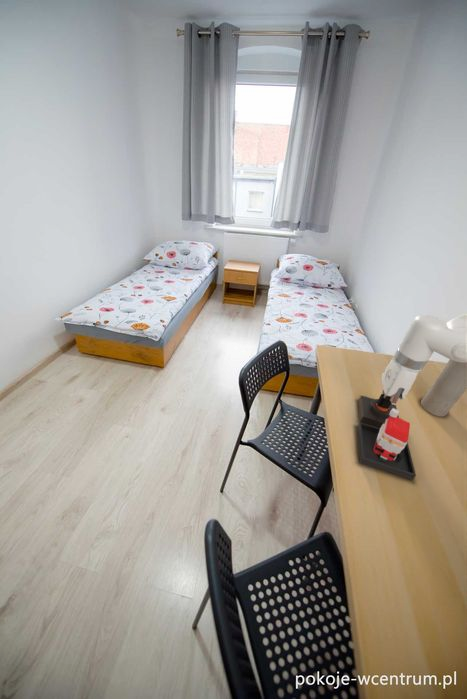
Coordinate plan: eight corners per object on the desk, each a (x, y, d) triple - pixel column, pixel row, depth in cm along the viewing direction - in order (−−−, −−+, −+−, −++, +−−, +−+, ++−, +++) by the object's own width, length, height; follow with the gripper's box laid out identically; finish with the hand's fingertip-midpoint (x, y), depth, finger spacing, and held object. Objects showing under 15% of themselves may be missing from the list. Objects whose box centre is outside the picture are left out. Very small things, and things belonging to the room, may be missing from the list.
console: (392, 410, 91) (398, 401, 89) (397, 433, 83) (404, 423, 81) (358, 401, 94) (362, 391, 91) (359, 422, 86) (365, 412, 83)
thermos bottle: (446, 406, 96) (498, 338, 80) (446, 420, 90) (503, 350, 75) (421, 396, 99) (466, 329, 84) (420, 408, 94) (468, 339, 78)
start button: (385, 407, 88) (387, 404, 87) (387, 415, 85) (389, 411, 84) (373, 404, 89) (375, 400, 88) (374, 412, 86) (377, 408, 85)
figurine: (398, 468, 72) (420, 439, 65) (370, 454, 75) (388, 425, 68) (401, 446, 78) (422, 417, 72) (375, 434, 81) (393, 405, 74)
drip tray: (402, 441, 81) (406, 436, 80) (411, 480, 71) (416, 475, 69) (356, 427, 84) (359, 422, 82) (359, 463, 73) (362, 458, 72)
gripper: (391, 341, 82) (367, 387, 93) (400, 370, 70) (371, 419, 81) (418, 348, 81) (391, 394, 91) (432, 379, 69) (399, 427, 79)
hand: (382, 405), depth 86 cm, fingers closed
